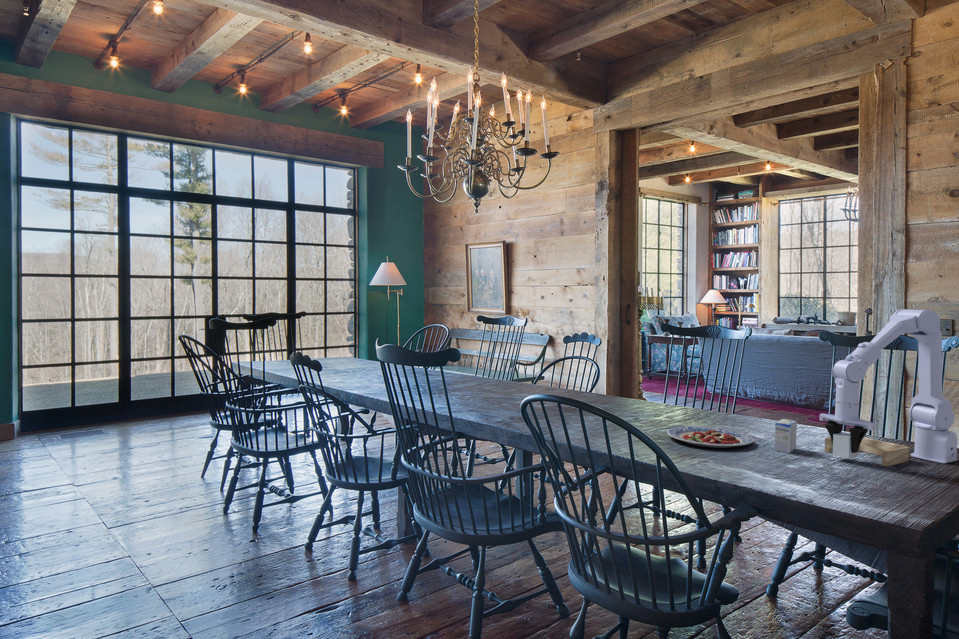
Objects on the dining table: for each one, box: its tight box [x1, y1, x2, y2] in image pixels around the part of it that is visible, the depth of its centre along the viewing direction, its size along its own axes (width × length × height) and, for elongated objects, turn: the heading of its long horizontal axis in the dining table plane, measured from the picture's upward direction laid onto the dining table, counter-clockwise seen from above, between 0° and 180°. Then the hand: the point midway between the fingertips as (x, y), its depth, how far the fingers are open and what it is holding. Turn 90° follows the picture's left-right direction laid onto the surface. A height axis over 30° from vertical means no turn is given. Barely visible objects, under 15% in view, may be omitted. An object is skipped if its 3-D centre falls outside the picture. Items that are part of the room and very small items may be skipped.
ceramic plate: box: [666, 425, 755, 449], centre depth 194 cm, size 26×26×3 cm
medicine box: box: [773, 418, 798, 454], centre depth 184 cm, size 8×4×9 cm, turn 141°
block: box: [832, 432, 859, 460], centre depth 173 cm, size 4×4×6 cm
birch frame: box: [824, 437, 912, 467], centre depth 178 cm, size 17×12×4 cm
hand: (845, 450), depth 173 cm, fingers closed on block, 4 cm apart
